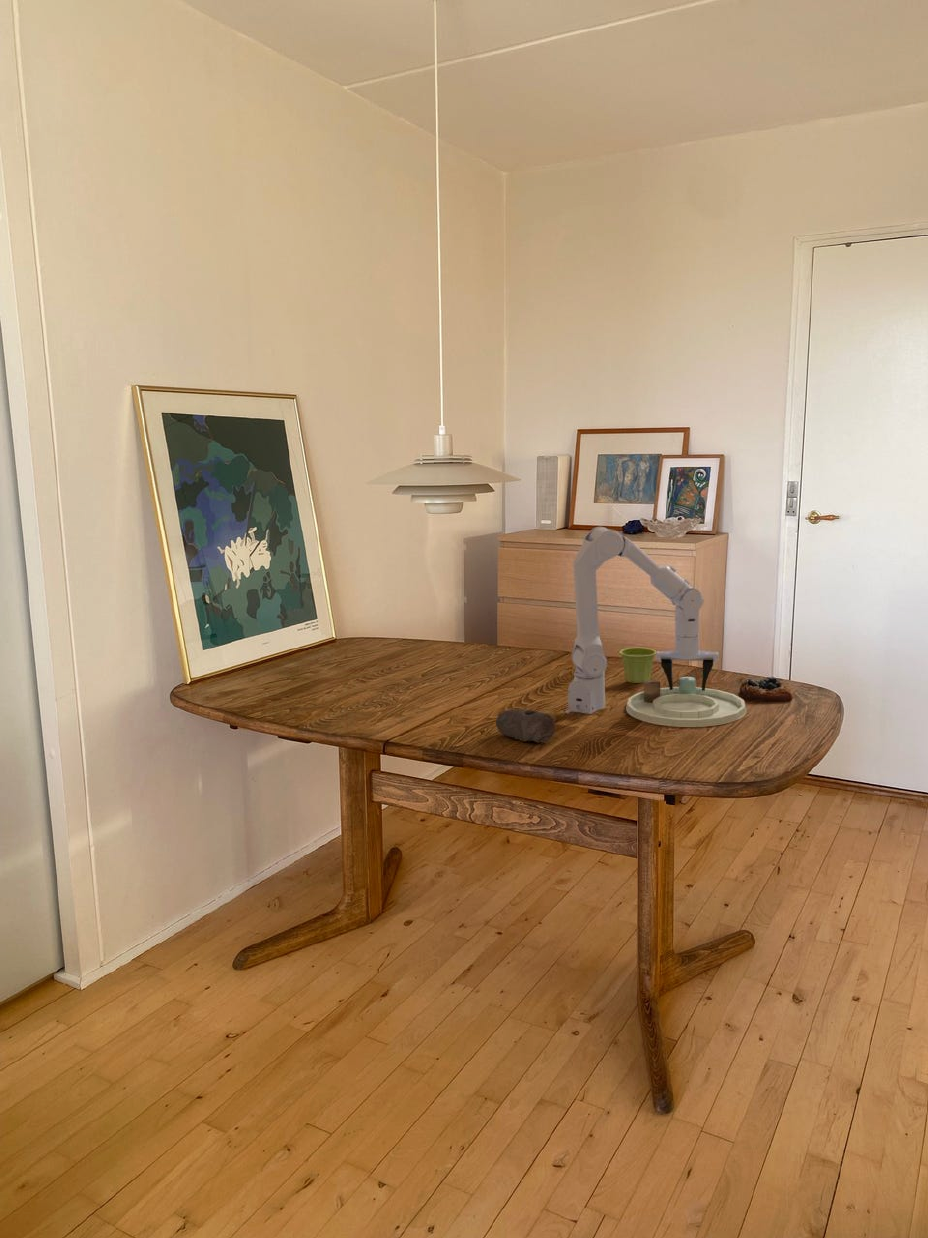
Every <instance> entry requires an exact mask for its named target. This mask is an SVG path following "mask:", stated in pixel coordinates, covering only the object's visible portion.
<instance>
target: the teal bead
mask: <svg viewBox="0 0 928 1238" xmlns="http://www.w3.org/2000/svg"><path fill="white" fill-rule="evenodd" d="M678 687H679V694H695V687H696V677H692V676H681V677H679V678H678Z"/></svg>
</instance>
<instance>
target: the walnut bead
mask: <svg viewBox="0 0 928 1238" xmlns="http://www.w3.org/2000/svg"><path fill="white" fill-rule="evenodd" d="M660 688H661V681H658V680H650V681H645V682H644V683H643V691H644V702H647V703H653V700H655V699H656V698H658V697H660Z"/></svg>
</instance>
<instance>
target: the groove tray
mask: <svg viewBox="0 0 928 1238" xmlns="http://www.w3.org/2000/svg"><path fill="white" fill-rule="evenodd" d="M625 709H626V712H627V714H629V716H631V717H633V718H634V719H637V720H639V721H642V722H645V723H649V724H654V725H658V726H659V725H661V726H667V727H677V728H678V727H680V728H682V727H683V728H700V727H701V728H703V727H712V726H719V725H724V724H728V723H732V722H735V721H738V720H740V719H742V718H743V717H744V716H746V713H747V708H746V702H745V700H744V699H743V698H742V697H741V696H738V695H736V694H734V693H731V692H727V691H724V690H719V689H715V688H707V687H705V691H702V687H698V686H695V694H679V686H673V690H670V688H669V686H668V687H660V697H658V698H656V699H655V700H653V703H647V702H644V690H643V691H639V692H637V693H635V694H634V695H632V696H630V697H628V698H627V704H626V707H625Z"/></svg>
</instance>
